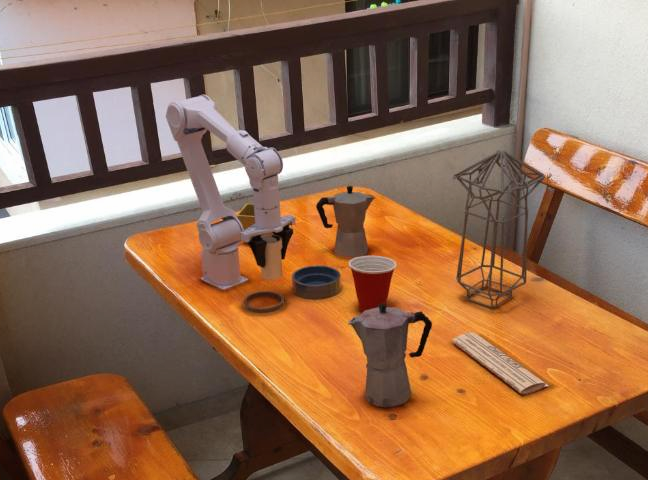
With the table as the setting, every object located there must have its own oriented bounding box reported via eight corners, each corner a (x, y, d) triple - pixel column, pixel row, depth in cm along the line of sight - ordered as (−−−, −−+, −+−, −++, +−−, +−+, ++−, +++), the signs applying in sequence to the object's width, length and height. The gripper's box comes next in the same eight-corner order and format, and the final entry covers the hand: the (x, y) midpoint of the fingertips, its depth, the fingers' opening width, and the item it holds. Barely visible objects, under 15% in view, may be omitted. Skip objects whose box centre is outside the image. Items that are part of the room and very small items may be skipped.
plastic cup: (403, 304, 201) (404, 256, 195) (385, 324, 193) (385, 275, 186) (361, 296, 205) (360, 249, 198) (341, 315, 197) (340, 267, 190)
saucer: (235, 306, 202) (235, 300, 201) (266, 293, 207) (266, 287, 206) (261, 318, 196) (260, 313, 195) (292, 305, 201) (292, 299, 201)
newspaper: (452, 344, 184) (452, 337, 183) (479, 336, 187) (479, 329, 186) (520, 396, 167) (521, 388, 166) (549, 386, 169) (550, 378, 168)
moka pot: (348, 385, 171) (346, 294, 160) (425, 380, 172) (427, 289, 161) (352, 411, 163) (350, 317, 152) (433, 406, 164) (436, 313, 153)
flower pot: (270, 248, 230) (267, 216, 225) (239, 246, 232) (236, 214, 227) (279, 236, 237) (277, 205, 233) (248, 234, 239) (246, 203, 234)
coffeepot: (371, 242, 232) (370, 177, 223) (379, 256, 224) (379, 189, 215) (315, 248, 230) (312, 183, 220) (321, 262, 222) (319, 195, 212)
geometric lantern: (483, 278, 212) (493, 136, 193) (537, 298, 202) (552, 150, 184) (442, 299, 203) (448, 152, 184) (495, 320, 193) (508, 167, 175)
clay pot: (255, 275, 199) (252, 239, 194) (273, 268, 202) (271, 232, 198) (270, 283, 196) (268, 245, 191) (289, 275, 199) (287, 238, 194)
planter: (282, 290, 208) (281, 275, 206) (318, 276, 215) (317, 261, 213) (315, 305, 201) (314, 290, 199) (350, 290, 208) (350, 274, 206)
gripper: (252, 218, 183) (257, 277, 190) (303, 201, 192) (306, 257, 199) (232, 210, 188) (237, 267, 195) (282, 193, 196) (286, 249, 203)
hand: (271, 262), depth 197 cm, fingers closed on clay pot, 5 cm apart
